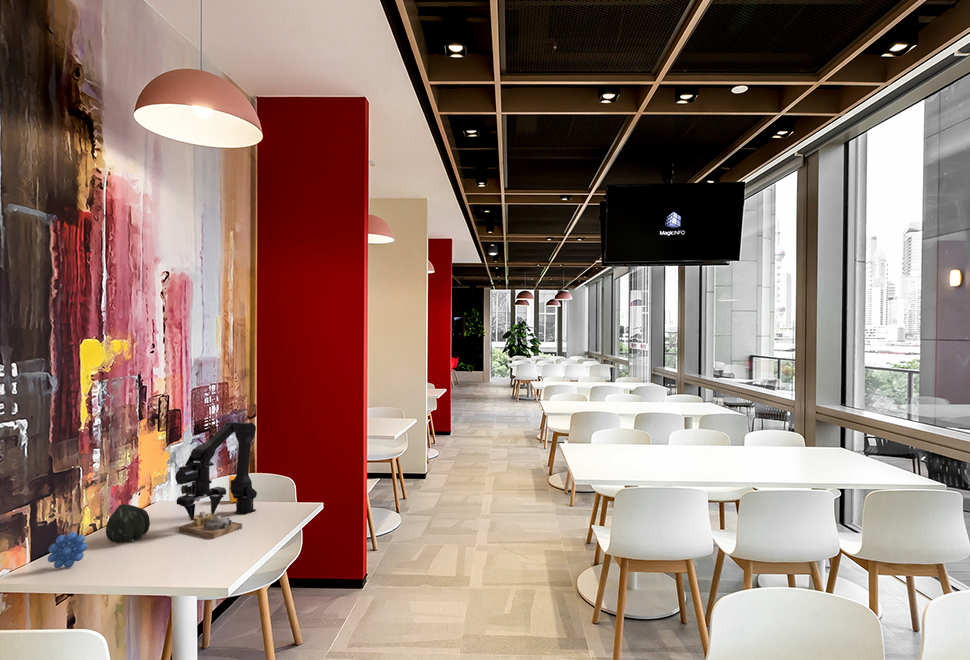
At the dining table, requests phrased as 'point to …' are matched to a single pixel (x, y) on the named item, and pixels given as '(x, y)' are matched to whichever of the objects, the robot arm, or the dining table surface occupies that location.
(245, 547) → the dining table surface
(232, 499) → the bracket
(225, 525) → the gear board
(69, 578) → the dining table surface
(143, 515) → the squash
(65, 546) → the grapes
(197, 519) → the brass gear
